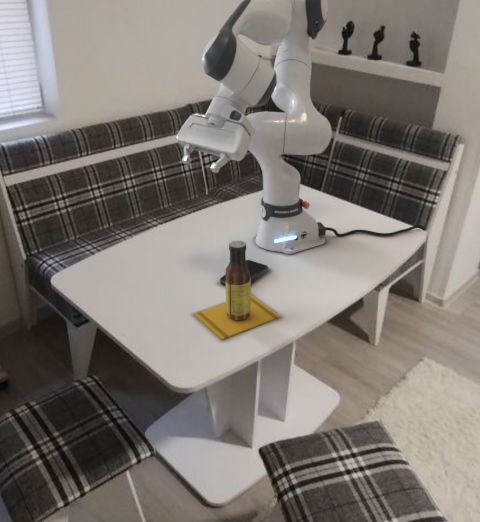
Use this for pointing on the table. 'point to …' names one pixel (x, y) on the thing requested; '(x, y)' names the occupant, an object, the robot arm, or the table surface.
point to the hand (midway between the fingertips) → (199, 167)
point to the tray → (228, 327)
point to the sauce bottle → (238, 283)
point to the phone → (251, 271)
